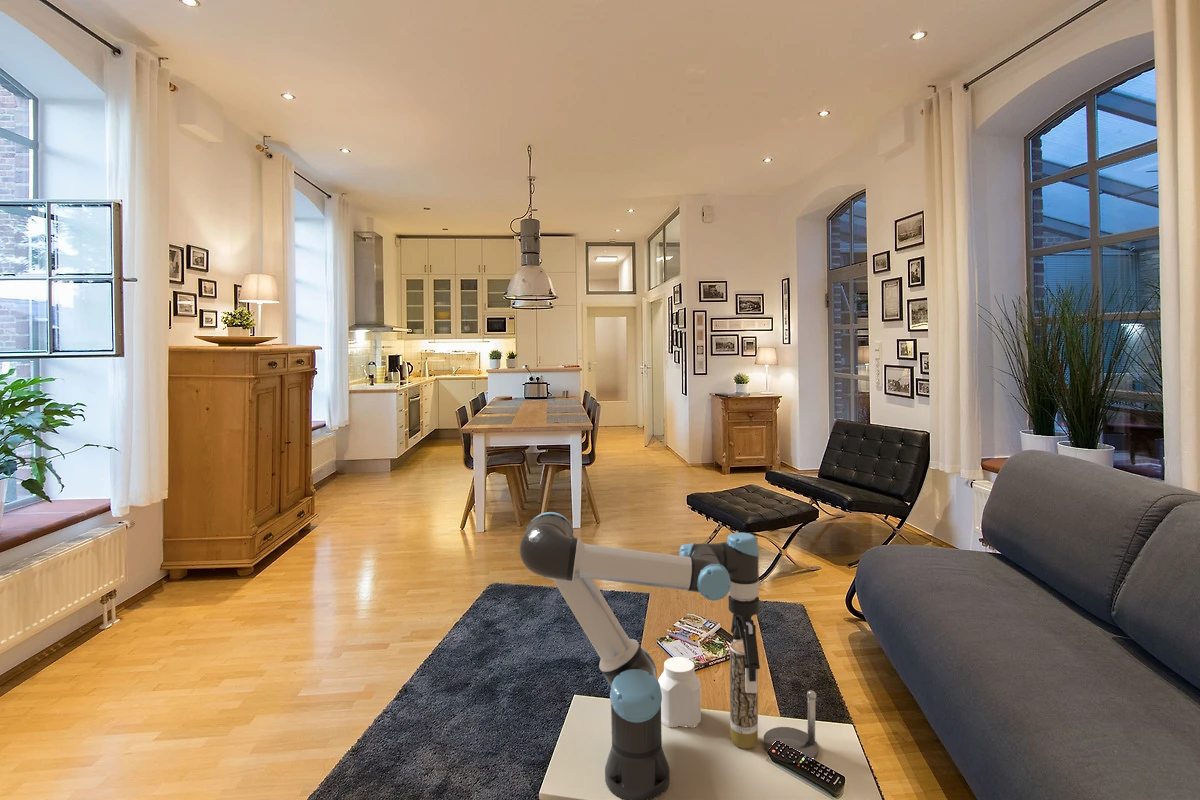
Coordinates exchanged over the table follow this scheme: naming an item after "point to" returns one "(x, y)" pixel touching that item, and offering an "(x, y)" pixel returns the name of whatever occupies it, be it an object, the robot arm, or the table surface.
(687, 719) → the jar
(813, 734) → the stand
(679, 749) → the table surface
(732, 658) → the paper tube
